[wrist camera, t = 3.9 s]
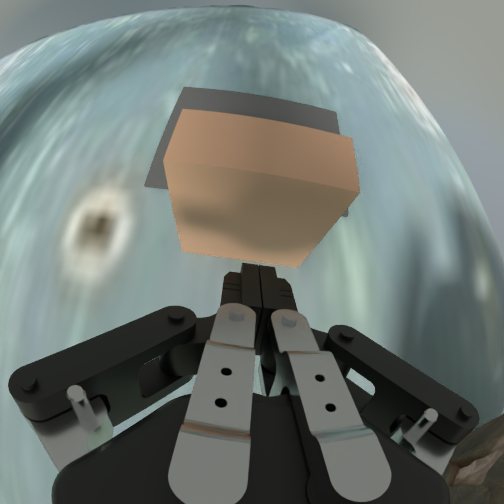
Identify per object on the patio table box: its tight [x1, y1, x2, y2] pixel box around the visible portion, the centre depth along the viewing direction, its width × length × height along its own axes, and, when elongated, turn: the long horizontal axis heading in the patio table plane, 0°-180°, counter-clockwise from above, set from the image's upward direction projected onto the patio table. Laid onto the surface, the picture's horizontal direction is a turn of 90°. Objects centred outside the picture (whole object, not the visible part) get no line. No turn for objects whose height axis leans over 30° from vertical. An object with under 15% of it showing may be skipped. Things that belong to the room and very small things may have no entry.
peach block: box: [163, 109, 360, 267], centre depth 20 cm, size 10×4×12 cm, turn 84°
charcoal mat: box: [144, 87, 348, 217], centre depth 30 cm, size 20×16×1 cm
